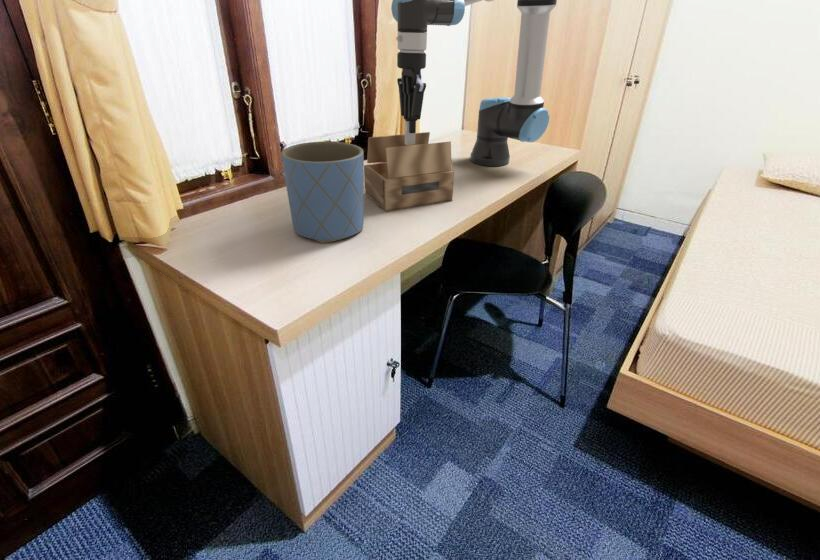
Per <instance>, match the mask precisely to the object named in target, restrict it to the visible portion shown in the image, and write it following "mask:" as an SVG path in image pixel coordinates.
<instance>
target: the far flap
mask: <svg viewBox="0 0 820 560" xmlns="http://www.w3.org/2000/svg"><path fill="white" fill-rule="evenodd" d="M430 135H431V133H430V131H428V132H427V131H426V132H424V131H423V132H416V136H415V144H412V145H421V144H429V140H430ZM401 146H411V145H406V144H405V133H402V134H393V135H392V134H391V135H382V136H369V137H368V139H367V158H366V159H367V160H366V161H367V163H366V164H377V163H386V162H387V158H386V148H391V147H401Z"/></svg>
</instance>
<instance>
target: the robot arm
mask: <svg viewBox="0 0 820 560" xmlns="http://www.w3.org/2000/svg"><path fill="white" fill-rule="evenodd" d="M481 1H483V0H392V2H391V8H390V9H391V15H392V17H393V19H394V20H395V21H396V23H397V36H396V41H397V49H398V50H399V51H398V52H397V54H396V55H397V62H396V65H397V68H398V69H402V71H401V77H399V78H397V79H396V81H397V86H398V95H399V105H400V106H399V107H400V115H401V116H402V117H403V119H404V134H405V144H406V145H412V144H415V136H416V133H417V131H416V129H417V128H416V127H417V125H416V124H417V121H418V120H421V117H422V116H421V115H422V110H423V103H424V95H425V90H426V88H427V84H426V82H422V71H421V70H423V69H426V66H427V64H426V63H427V54H426V52H425V51H426V50H427V42H428V39H427V38H428V26H447V27H450V26H456V25H459V23H461V22H462V20H463V19H464V16H465V10H466V9H465V7H467V6H469V5H470V6H471V5H473V4H475V3H478V2H481ZM484 1H485V2H493V1H494V0H484ZM516 4H517V5H516V7H517V9H518V10H519V12H520V14H521V16H520V26H519V27H520V28H519V37H518V50H517V60H516V71H515V72H516V73H515V83H514V95H512V97H509V96H508V97H507V96H502V97H501V96H499V97H488V98H484V99H482V100H481V101H480V104H479V109H478V119H477V120H478V121H477V131H476V140H475V144H474V145H473V148H472V150H471V153H470V159H469V160H470V162H472V163H474V164H476V165H480V166H486V167H501V166H506V165H508V164H509V163H510V157H511V156H510V155H511V154H510V150H509V143H508V139H512V140H515V141H520V142H523V143H524V142H525V143H535V142H537V141H538V140H540V139H541V137H543V135H544V134H545V132H546V130H547V128H548V126H549V123H550V113H549V111H548V109H547V108H545V107H544V106H545V99H544V98H543V96H542V95H541V92H542V91H541V90H542V84H543V75H544V68H545V67H544V66H545V58H546V49H547V41H548V33H549V25H550V16H551V12H552V11H553V10H554V9H555V7H556V6H557V0H517V3H516Z"/></svg>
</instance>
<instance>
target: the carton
mask: <svg viewBox="0 0 820 560" xmlns="http://www.w3.org/2000/svg"><path fill="white" fill-rule="evenodd" d="M454 180H455V170H453V169H452V170H450V171H443V172H435V173H427V174H420V175H412V176H404V177H397V178H388V170H387V162H377V163H369V164H364V189H365V190H364V194H365V195H366V196H367V197H368V198H370V199H371V200H372V201H373V202H374V203H375V204H376V205H378V206H379V208H381V209H382V210H383V211H384V212H391V211H392V212H393V211H397V210H399V211H400V210H404V209H409V208H411V209H412V208H416V207H422V206H429V205H435V204H441V203H448V202H453V195H454V183H455V181H454Z"/></svg>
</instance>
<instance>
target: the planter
mask: <svg viewBox="0 0 820 560" xmlns="http://www.w3.org/2000/svg"><path fill="white" fill-rule="evenodd" d="M280 155H281V163H282V169H283V174H284V176H283V177H284V180H285V186H286V192H287V199H288V205H289V211H290V215H291V222H292V226H293V230H294V232H295V233H296V234H298V235H300V236H301V237H304V238H308V239H311V240H315V241H317V242H318V243H320V244H327V243H331V242H335V241H338V240H339V241H340V240H342V239H343V240H344V239H345V238H349V237H352V236H354V235H356V234H358V233H360V232H362V231H363V229H364V220H365V219H364V213H365V212H364V211H365V210H364V208H365V206H364V205H365V204H364V203H365V202H364V199H365V197H364V194H365V190H364V189H365V182H364V165H365V164H364V162H365V161H364V149H363V148H362V147H360V146H358V145H356V144H352V143H347V142H342V141H341V142H340V141H339V142H337V141H310V142H304V143H299V144H294V145H290V146H287V147H285V148H284V149H283V150H282V151H281V153H280Z"/></svg>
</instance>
